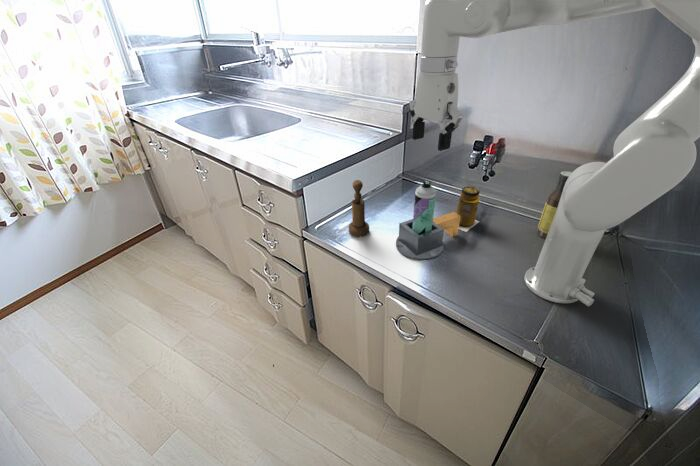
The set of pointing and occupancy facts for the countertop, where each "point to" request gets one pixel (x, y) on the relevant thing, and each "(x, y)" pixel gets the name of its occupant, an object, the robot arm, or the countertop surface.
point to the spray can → (424, 208)
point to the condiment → (468, 208)
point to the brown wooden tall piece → (358, 213)
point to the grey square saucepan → (426, 237)
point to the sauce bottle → (552, 205)
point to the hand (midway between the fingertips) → (430, 143)
